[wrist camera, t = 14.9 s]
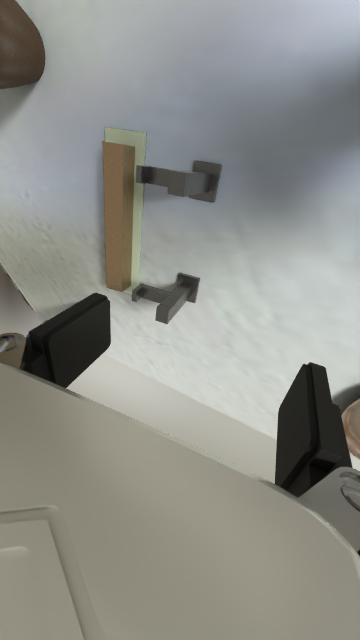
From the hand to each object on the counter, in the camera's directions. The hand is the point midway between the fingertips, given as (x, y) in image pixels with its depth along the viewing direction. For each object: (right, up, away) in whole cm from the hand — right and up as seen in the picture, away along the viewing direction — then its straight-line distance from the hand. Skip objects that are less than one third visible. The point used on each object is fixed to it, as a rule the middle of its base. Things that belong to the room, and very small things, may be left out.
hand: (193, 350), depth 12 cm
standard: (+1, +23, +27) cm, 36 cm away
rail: (-11, +19, +34) cm, 41 cm away
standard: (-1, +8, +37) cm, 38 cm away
